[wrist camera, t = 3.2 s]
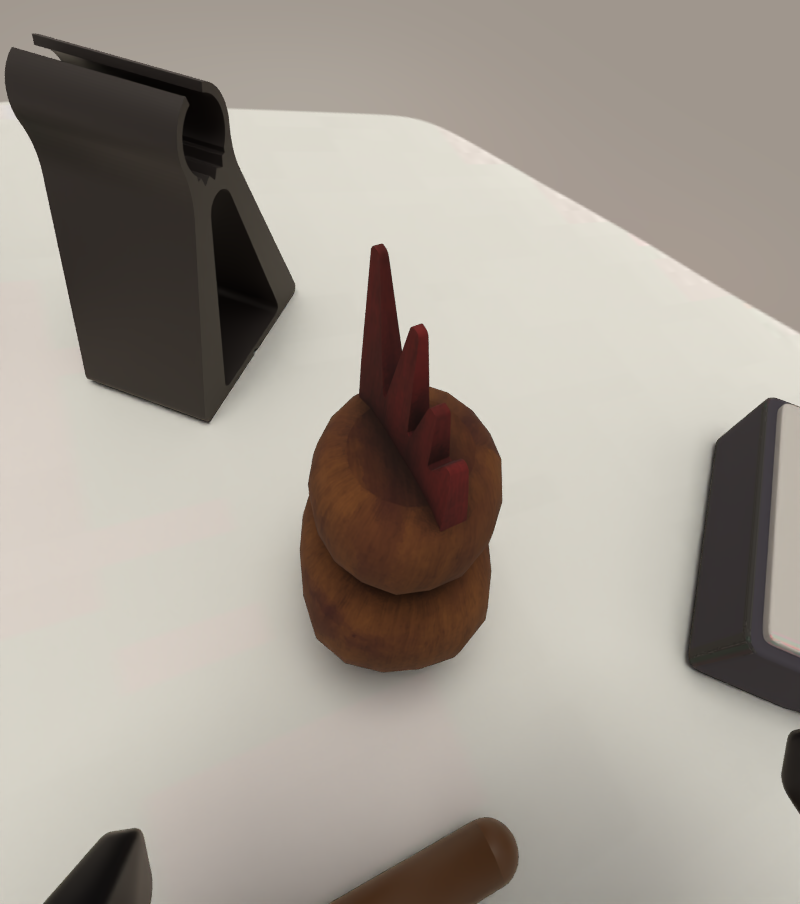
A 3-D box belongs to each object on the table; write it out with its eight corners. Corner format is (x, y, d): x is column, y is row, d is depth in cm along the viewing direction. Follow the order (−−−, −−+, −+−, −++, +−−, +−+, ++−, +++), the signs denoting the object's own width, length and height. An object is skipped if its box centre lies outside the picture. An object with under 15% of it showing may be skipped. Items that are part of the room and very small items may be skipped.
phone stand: (193, 256, 30) (108, -18, 20) (296, 290, 29) (265, 24, 19) (88, 382, 26) (-91, 113, 15) (207, 425, 25) (102, 174, 15)
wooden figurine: (309, 518, 23) (249, 185, 10) (449, 509, 24) (559, 185, 11) (312, 697, 20) (229, 540, 7) (474, 682, 20) (678, 512, 7)
